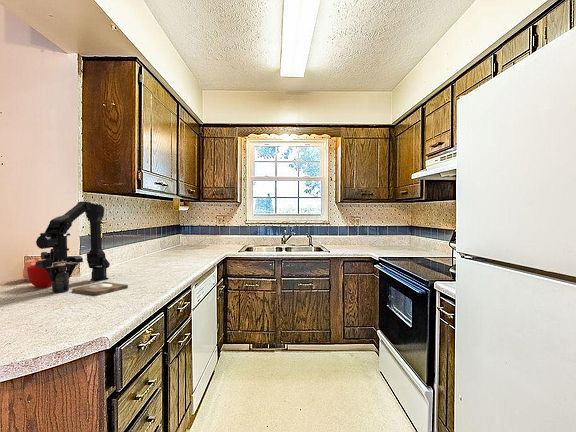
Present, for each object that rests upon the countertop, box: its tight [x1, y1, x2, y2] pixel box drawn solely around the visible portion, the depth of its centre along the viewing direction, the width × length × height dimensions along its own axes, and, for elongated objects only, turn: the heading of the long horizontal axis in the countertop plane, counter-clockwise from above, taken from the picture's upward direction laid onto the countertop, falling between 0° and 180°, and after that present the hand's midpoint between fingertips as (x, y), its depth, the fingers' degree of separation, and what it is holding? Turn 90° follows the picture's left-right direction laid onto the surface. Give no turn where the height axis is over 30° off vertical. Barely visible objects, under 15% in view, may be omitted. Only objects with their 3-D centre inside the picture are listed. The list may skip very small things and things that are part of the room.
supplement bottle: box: [51, 264, 70, 294], centre depth 172 cm, size 7×7×12 cm
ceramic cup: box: [27, 264, 59, 289], centre depth 184 cm, size 13×17×10 cm
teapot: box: [22, 256, 45, 282], centre depth 200 cm, size 20×12×12 cm, turn 17°
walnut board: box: [71, 281, 129, 297], centre depth 175 cm, size 17×16×2 cm
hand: (60, 280), depth 172 cm, fingers closed on supplement bottle, 7 cm apart
